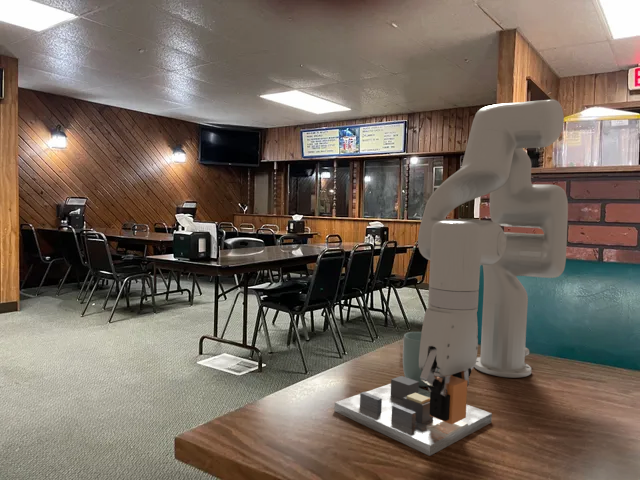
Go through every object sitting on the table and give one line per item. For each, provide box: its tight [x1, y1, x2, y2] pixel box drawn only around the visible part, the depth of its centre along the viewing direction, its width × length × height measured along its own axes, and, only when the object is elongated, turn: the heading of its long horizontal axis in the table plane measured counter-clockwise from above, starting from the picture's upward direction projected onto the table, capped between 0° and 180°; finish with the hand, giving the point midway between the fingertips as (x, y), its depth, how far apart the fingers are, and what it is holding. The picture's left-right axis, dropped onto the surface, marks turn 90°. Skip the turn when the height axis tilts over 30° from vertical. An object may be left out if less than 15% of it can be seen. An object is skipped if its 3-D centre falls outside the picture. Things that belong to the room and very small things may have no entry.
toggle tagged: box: [403, 393, 433, 424], centre depth 79 cm, size 3×4×3 cm
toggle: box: [390, 375, 420, 400], centre depth 88 cm, size 3×4×3 cm
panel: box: [334, 383, 493, 456], centre depth 83 cm, size 18×20×4 cm
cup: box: [402, 331, 440, 388], centre depth 100 cm, size 8×8×10 cm
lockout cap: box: [430, 375, 468, 424], centre depth 76 cm, size 4×4×6 cm
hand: (447, 412), depth 76 cm, fingers closed on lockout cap, 4 cm apart
